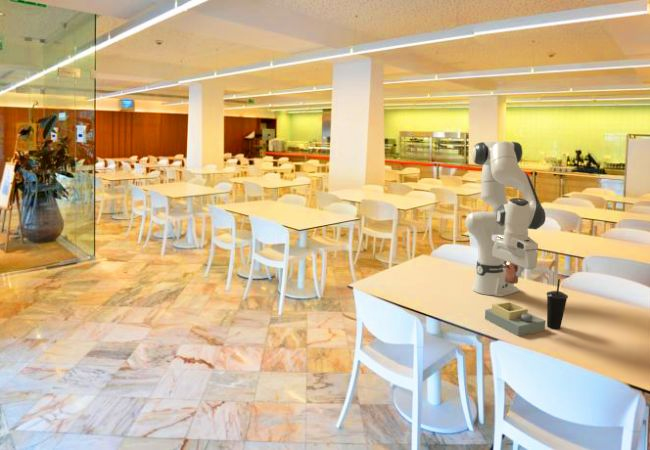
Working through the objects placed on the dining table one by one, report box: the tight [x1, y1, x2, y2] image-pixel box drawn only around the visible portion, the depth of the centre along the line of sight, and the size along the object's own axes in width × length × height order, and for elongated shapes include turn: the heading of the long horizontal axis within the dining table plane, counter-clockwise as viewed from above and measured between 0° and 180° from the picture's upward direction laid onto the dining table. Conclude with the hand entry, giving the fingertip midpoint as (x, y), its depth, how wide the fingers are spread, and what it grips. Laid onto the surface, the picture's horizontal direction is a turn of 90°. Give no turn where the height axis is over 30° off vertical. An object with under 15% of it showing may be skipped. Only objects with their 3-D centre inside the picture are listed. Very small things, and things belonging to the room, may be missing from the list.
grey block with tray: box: [484, 300, 547, 337], centre depth 192 cm, size 14×18×7 cm
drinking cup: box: [546, 278, 569, 330], centre depth 189 cm, size 8×8×20 cm
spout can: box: [503, 262, 519, 285], centre depth 190 cm, size 7×5×9 cm
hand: (511, 273), depth 190 cm, fingers closed on spout can, 5 cm apart
